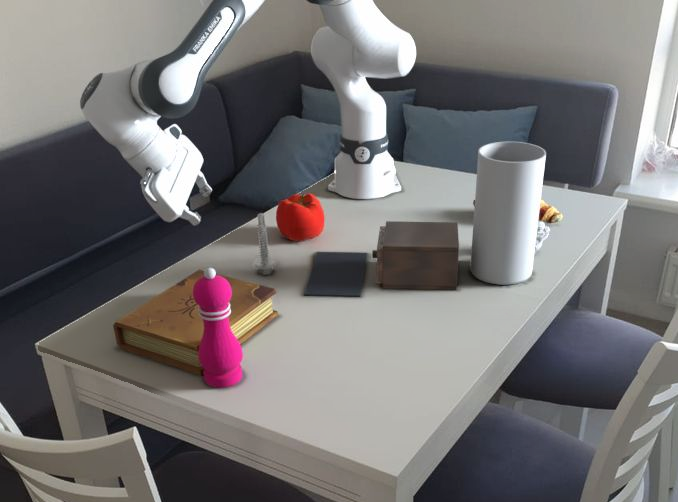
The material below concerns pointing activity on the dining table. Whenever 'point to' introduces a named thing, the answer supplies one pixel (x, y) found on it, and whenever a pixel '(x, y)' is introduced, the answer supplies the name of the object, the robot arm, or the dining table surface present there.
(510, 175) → the cylinder vase
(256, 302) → the diary
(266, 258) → the screw
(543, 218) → the croissant
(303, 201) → the tomato
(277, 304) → the dining table surface
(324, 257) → the mat
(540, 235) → the frog figurine
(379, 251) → the drawer
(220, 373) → the pepper mill
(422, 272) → the cabinet
